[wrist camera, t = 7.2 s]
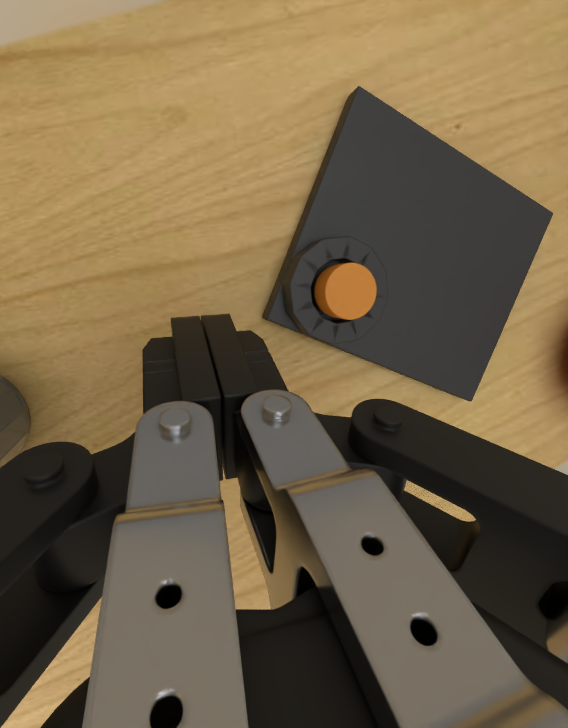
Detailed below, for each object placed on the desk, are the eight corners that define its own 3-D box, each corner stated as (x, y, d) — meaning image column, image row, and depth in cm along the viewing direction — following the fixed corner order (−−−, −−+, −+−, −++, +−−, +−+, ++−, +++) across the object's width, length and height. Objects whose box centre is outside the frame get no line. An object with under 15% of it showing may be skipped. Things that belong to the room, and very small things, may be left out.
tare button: (305, 306, 23) (316, 307, 21) (325, 255, 23) (338, 252, 21) (350, 325, 24) (364, 328, 22) (370, 276, 24) (385, 276, 22)
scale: (261, 317, 25) (273, 321, 22) (348, 96, 24) (372, 70, 21) (458, 397, 30) (488, 408, 27) (536, 216, 29) (576, 208, 26)
